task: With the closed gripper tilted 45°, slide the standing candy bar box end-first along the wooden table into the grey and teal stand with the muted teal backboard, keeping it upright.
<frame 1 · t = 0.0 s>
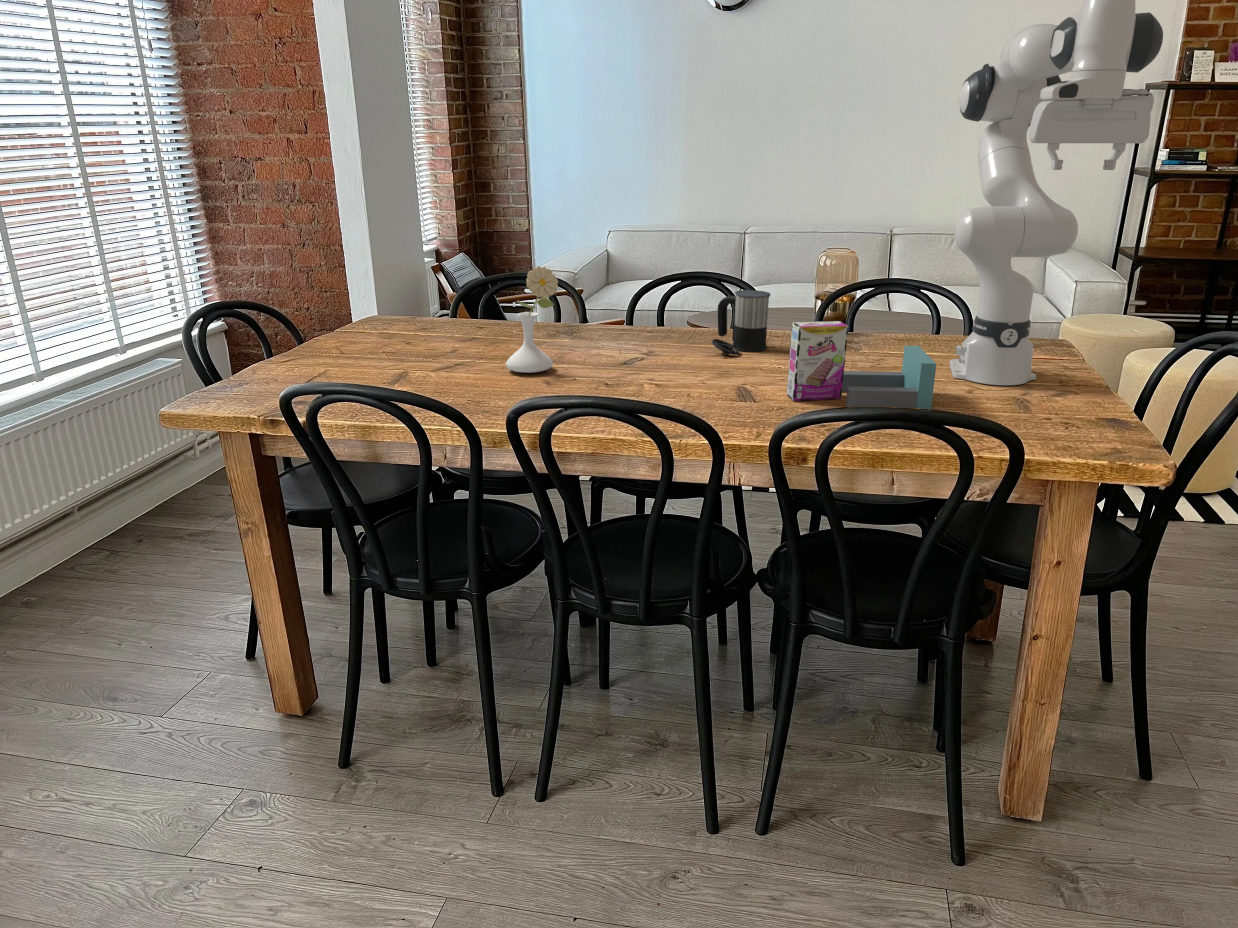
hand: (1082, 170, 169), 48 cm above the table, tool pointing down, fingers open, 8 cm apart
flower in vase: (533, 371, 222), on the table
grey and teal stand: (879, 398, 199), on the table
milk frother: (739, 351, 241), on the table
candy bar box: (814, 398, 200), on the table
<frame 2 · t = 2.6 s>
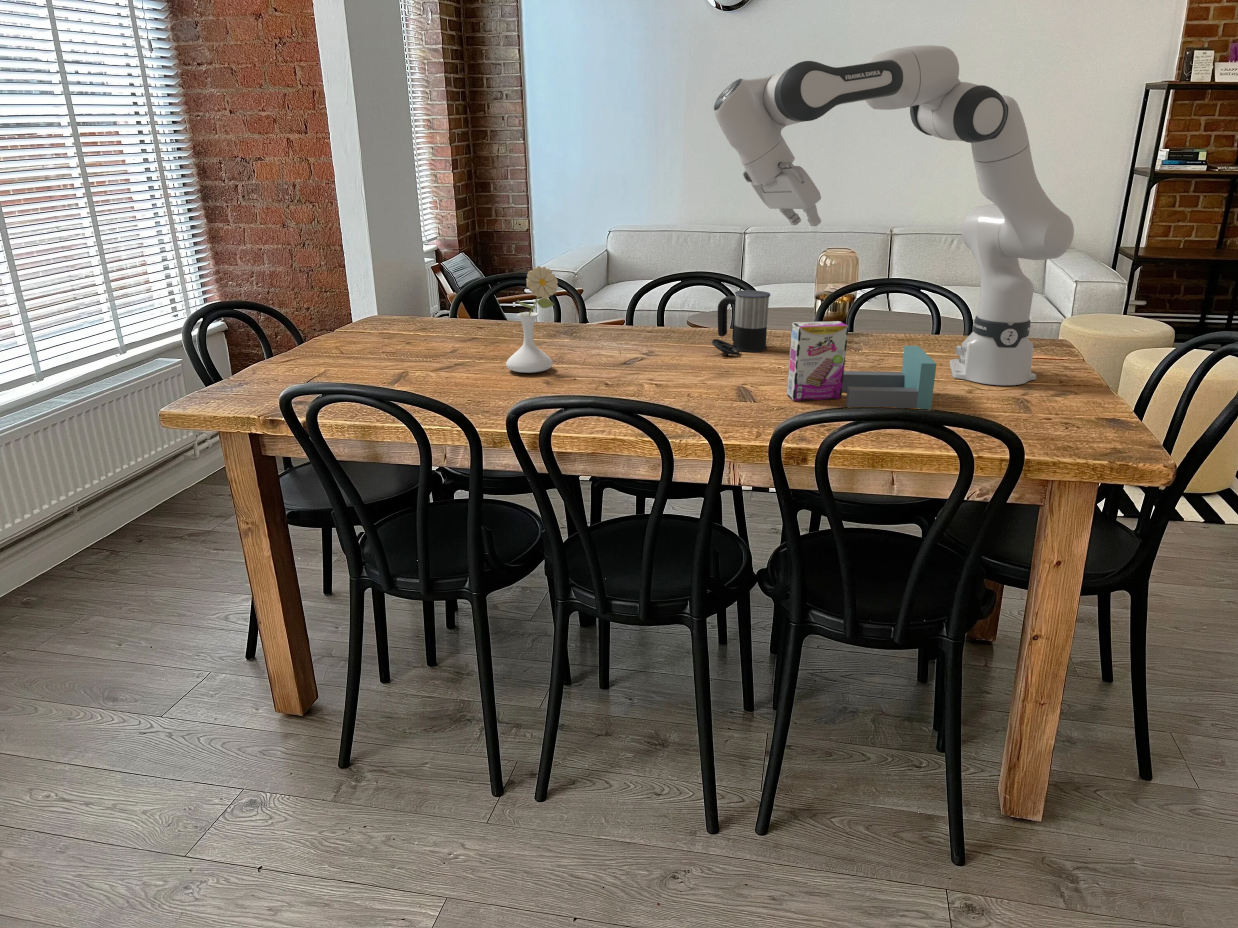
hand: (806, 224, 181), 38 cm above the table, tool tilted 35°, fingers open, 8 cm apart
nothing on the table moved.
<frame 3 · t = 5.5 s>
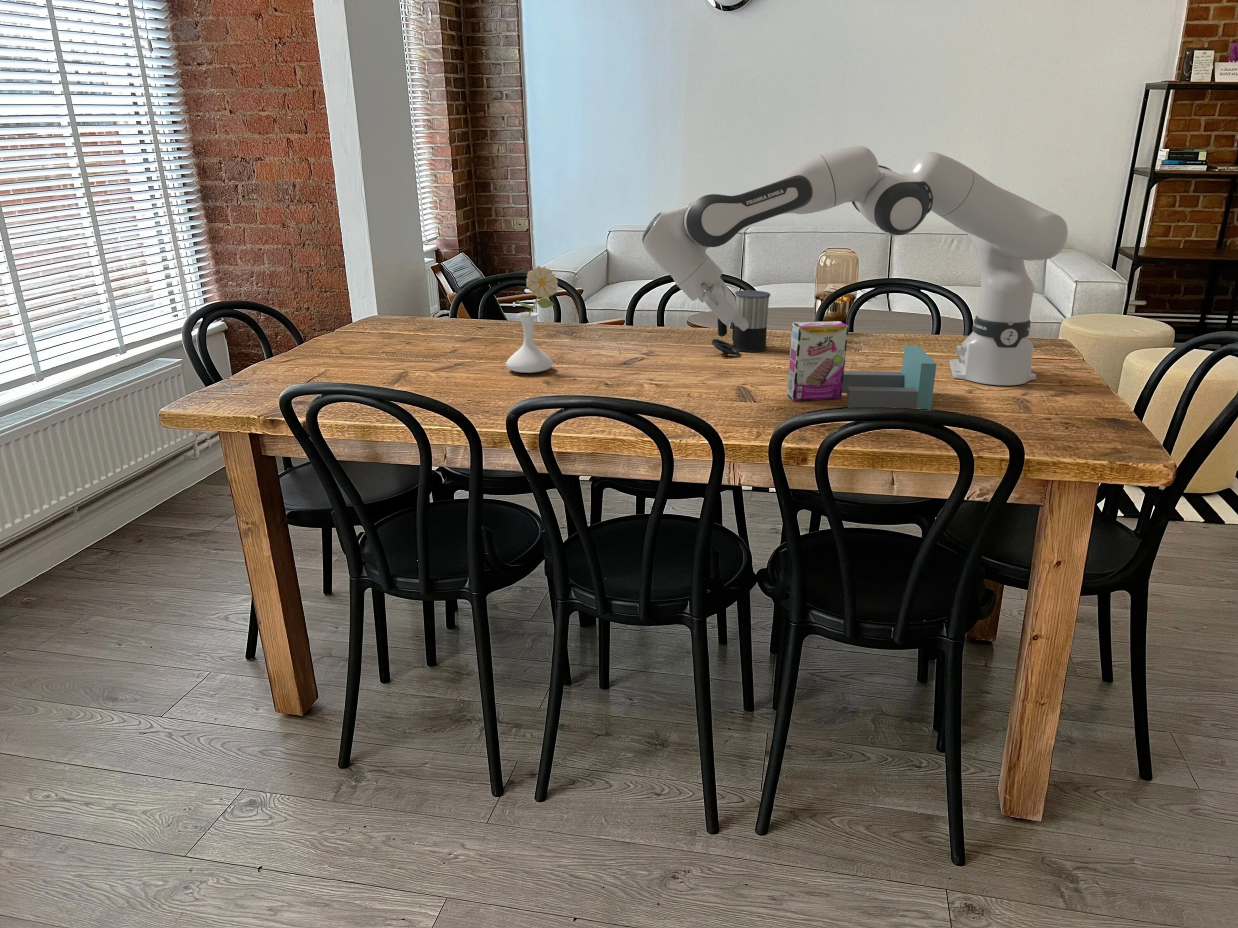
hand: (746, 327, 196), 15 cm above the table, tool tilted 45°, fingers closed
nothing on the table moved.
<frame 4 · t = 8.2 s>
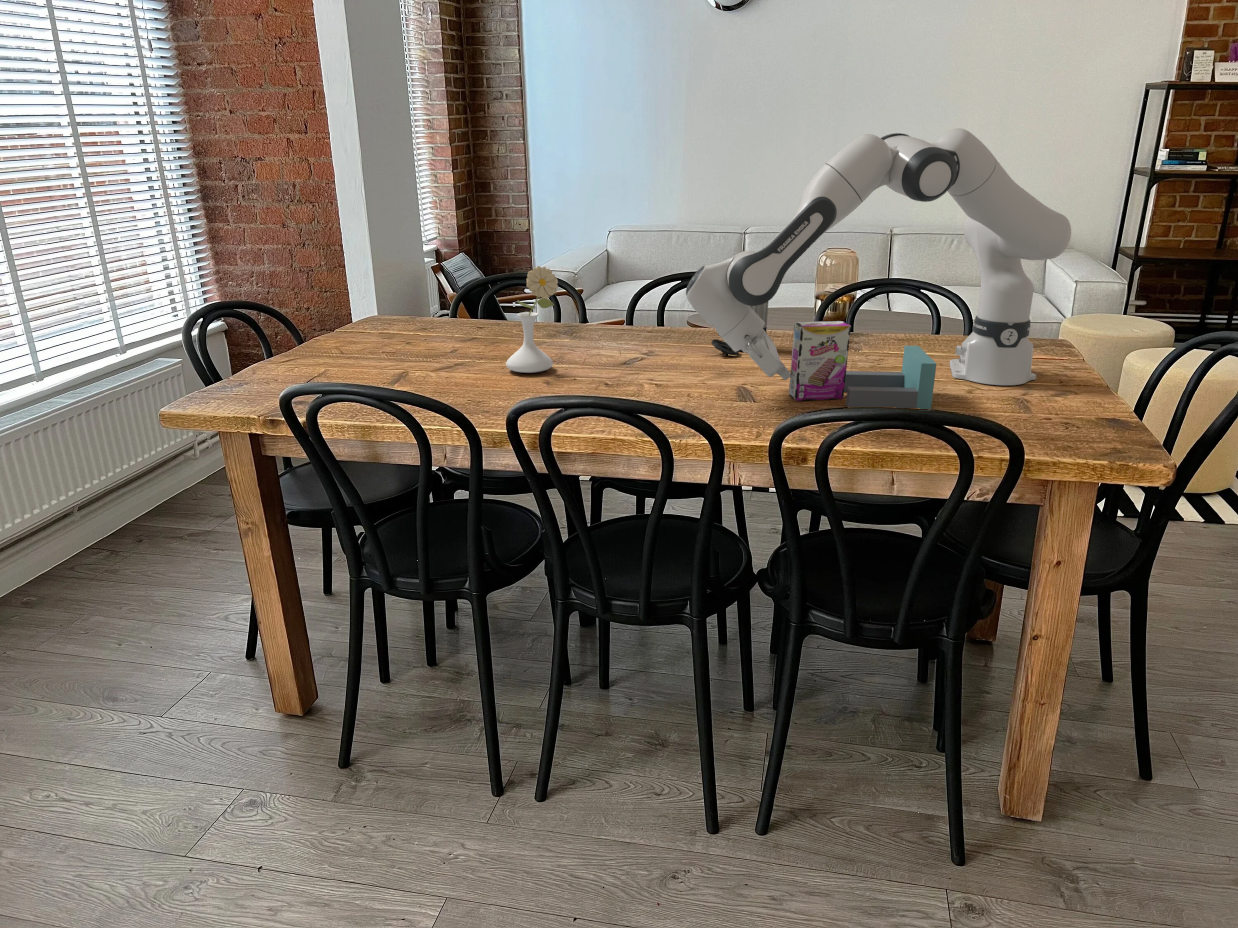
hand: (787, 376, 199), 5 cm above the table, tool tilted 45°, fingers closed
candy bar box: (816, 398, 200), on the table, touching gripper
everything else where it was.
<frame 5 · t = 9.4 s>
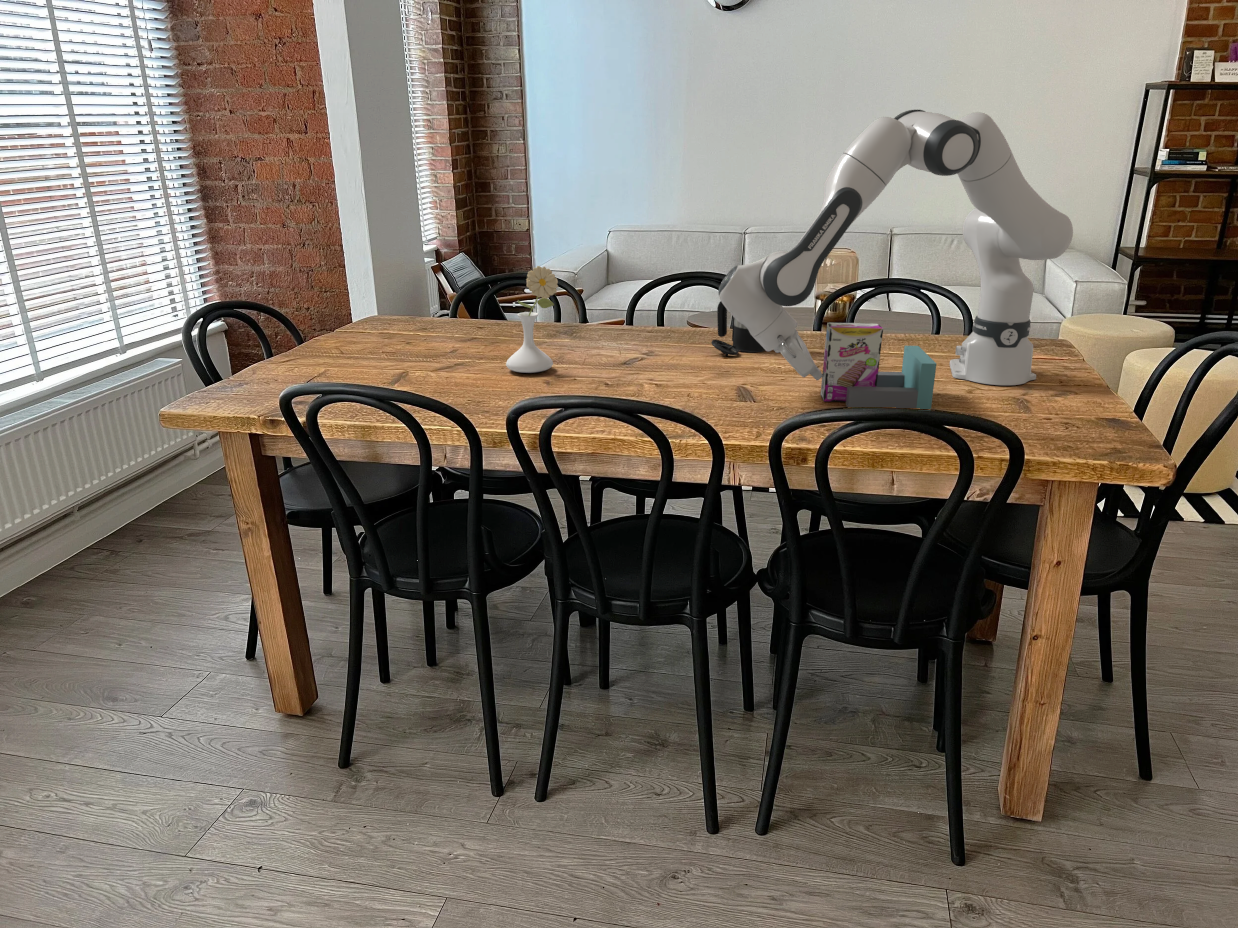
hand: (819, 376, 199), 5 cm above the table, tool tilted 45°, fingers closed, pressing on candy bar box
candy bar box: (847, 400, 199), on the table, touching gripper
everything else where it was.
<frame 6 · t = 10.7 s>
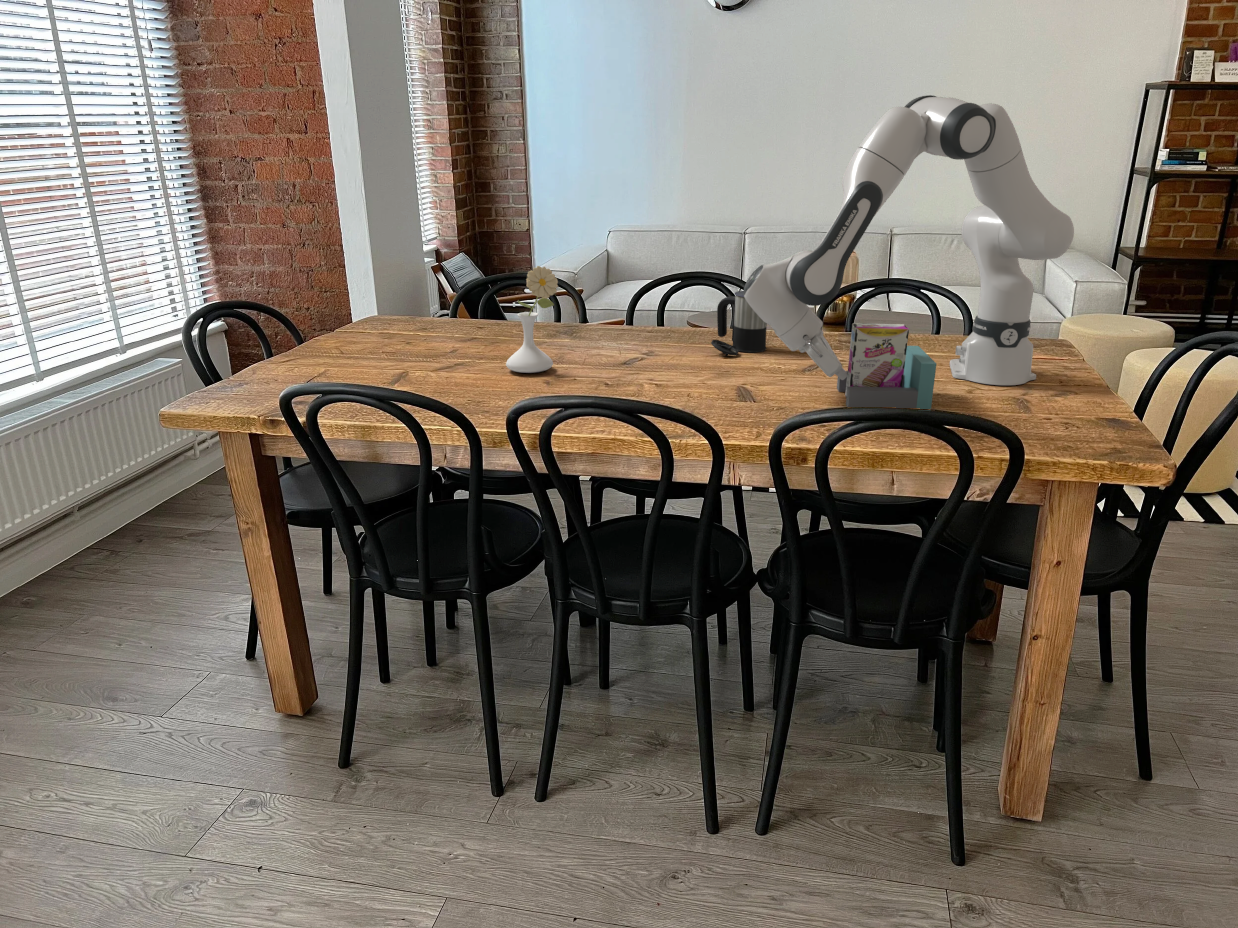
hand: (844, 376, 198), 5 cm above the table, tool tilted 45°, fingers closed, pressing on candy bar box
candy bar box: (872, 401, 198), on the table, touching gripper
everything else where it was.
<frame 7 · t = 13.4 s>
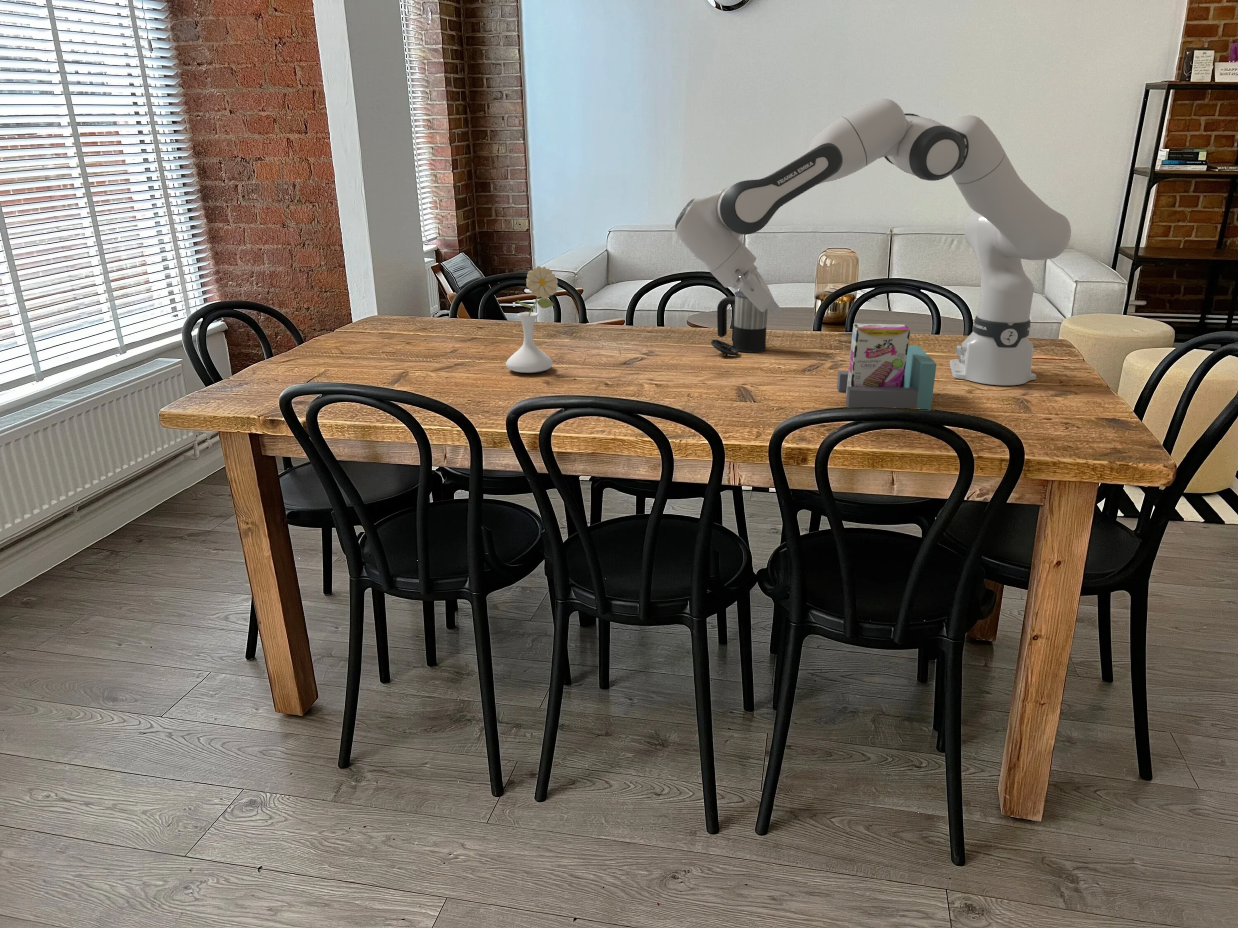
hand: (780, 314, 194), 18 cm above the table, tool tilted 45°, fingers closed
candy bar box: (873, 401, 198), on the table
everything else where it was.
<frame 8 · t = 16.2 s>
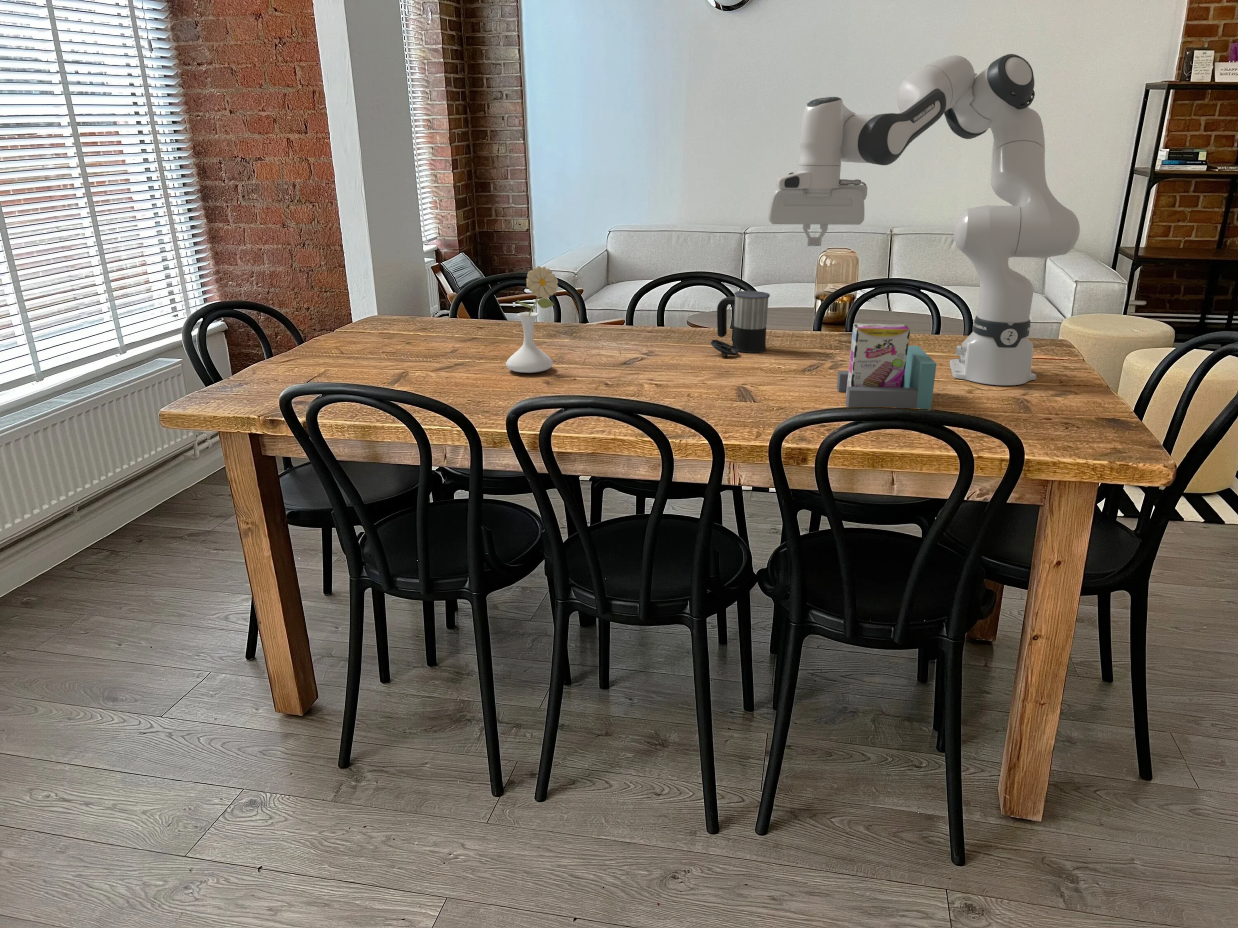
hand: (813, 245, 200), 31 cm above the table, tool pointing down, fingers closed
at the end: candy bar box inside the target area (1.5 cm from its centre), on the table; candy bar box tilted 0° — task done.
